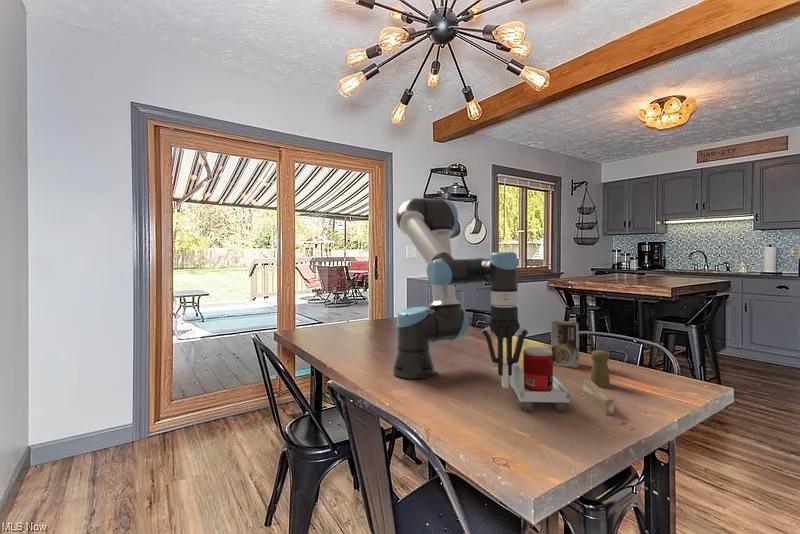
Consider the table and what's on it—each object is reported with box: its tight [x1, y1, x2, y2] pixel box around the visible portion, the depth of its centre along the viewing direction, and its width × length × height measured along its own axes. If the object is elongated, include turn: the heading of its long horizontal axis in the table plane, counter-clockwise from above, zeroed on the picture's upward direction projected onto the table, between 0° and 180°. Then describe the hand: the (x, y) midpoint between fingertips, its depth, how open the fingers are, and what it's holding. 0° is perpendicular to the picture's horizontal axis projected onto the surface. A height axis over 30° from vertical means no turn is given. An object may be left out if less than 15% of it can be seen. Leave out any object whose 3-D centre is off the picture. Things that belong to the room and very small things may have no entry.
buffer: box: [582, 379, 615, 416], centre depth 113 cm, size 2×16×4 cm, turn 175°
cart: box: [509, 363, 571, 413], centre depth 114 cm, size 13×15×10 cm
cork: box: [589, 349, 611, 389], centre depth 128 cm, size 6×6×11 cm
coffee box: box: [550, 320, 580, 369], centre depth 150 cm, size 9×6×16 cm
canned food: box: [522, 346, 554, 392], centre depth 114 cm, size 8×8×11 cm
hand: (504, 386), depth 115 cm, fingers closed
